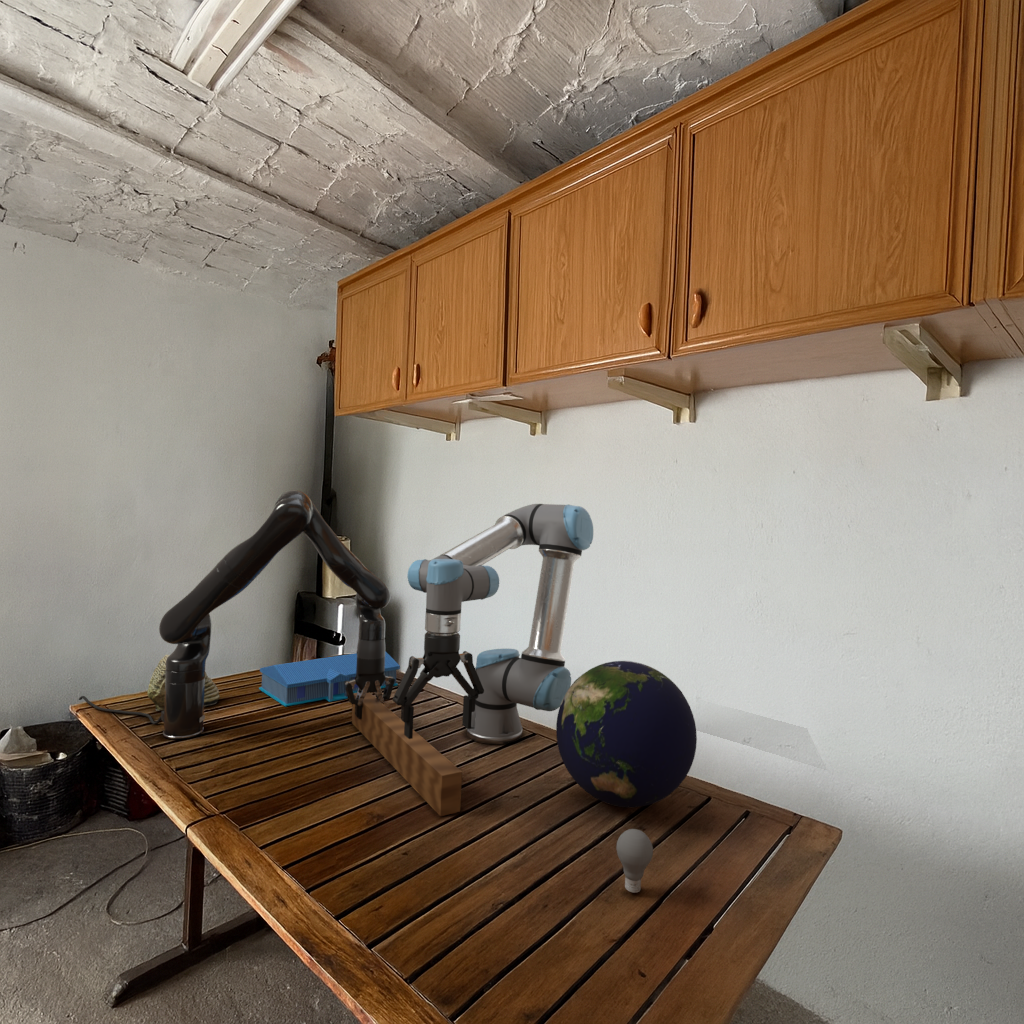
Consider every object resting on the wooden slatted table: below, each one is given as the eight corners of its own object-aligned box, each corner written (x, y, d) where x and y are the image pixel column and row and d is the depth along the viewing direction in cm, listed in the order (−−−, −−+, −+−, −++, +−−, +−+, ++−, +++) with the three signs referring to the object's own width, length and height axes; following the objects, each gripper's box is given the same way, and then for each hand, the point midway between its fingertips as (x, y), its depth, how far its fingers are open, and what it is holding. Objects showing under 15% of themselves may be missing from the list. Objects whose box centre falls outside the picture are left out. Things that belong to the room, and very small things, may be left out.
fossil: (144, 707, 182) (145, 655, 182) (212, 696, 194) (213, 647, 194) (151, 716, 175) (153, 662, 175) (221, 703, 188) (223, 653, 188)
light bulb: (610, 879, 108) (613, 822, 108) (644, 879, 109) (647, 822, 109) (619, 902, 102) (622, 840, 102) (655, 901, 103) (658, 840, 103)
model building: (289, 709, 186) (291, 675, 185) (258, 688, 204) (259, 657, 204) (403, 687, 212) (405, 657, 212) (366, 670, 230) (368, 643, 230)
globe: (533, 814, 130) (540, 669, 129) (575, 761, 157) (580, 641, 157) (683, 851, 118) (691, 691, 118) (699, 786, 146) (706, 657, 146)
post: (351, 722, 178) (352, 693, 178) (367, 720, 180) (368, 691, 180) (440, 816, 128) (442, 775, 127) (460, 811, 130) (462, 771, 130)
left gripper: (349, 660, 165) (346, 725, 166) (401, 655, 173) (398, 717, 173) (340, 653, 172) (338, 716, 172) (391, 649, 179) (388, 709, 179)
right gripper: (393, 640, 125) (388, 747, 125) (502, 631, 138) (497, 728, 138) (380, 632, 131) (375, 734, 131) (485, 625, 144) (481, 717, 144)
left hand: (368, 716), depth 172 cm, fingers closed on post, 4 cm apart
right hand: (438, 731), depth 135 cm, fingers open, 13 cm apart
